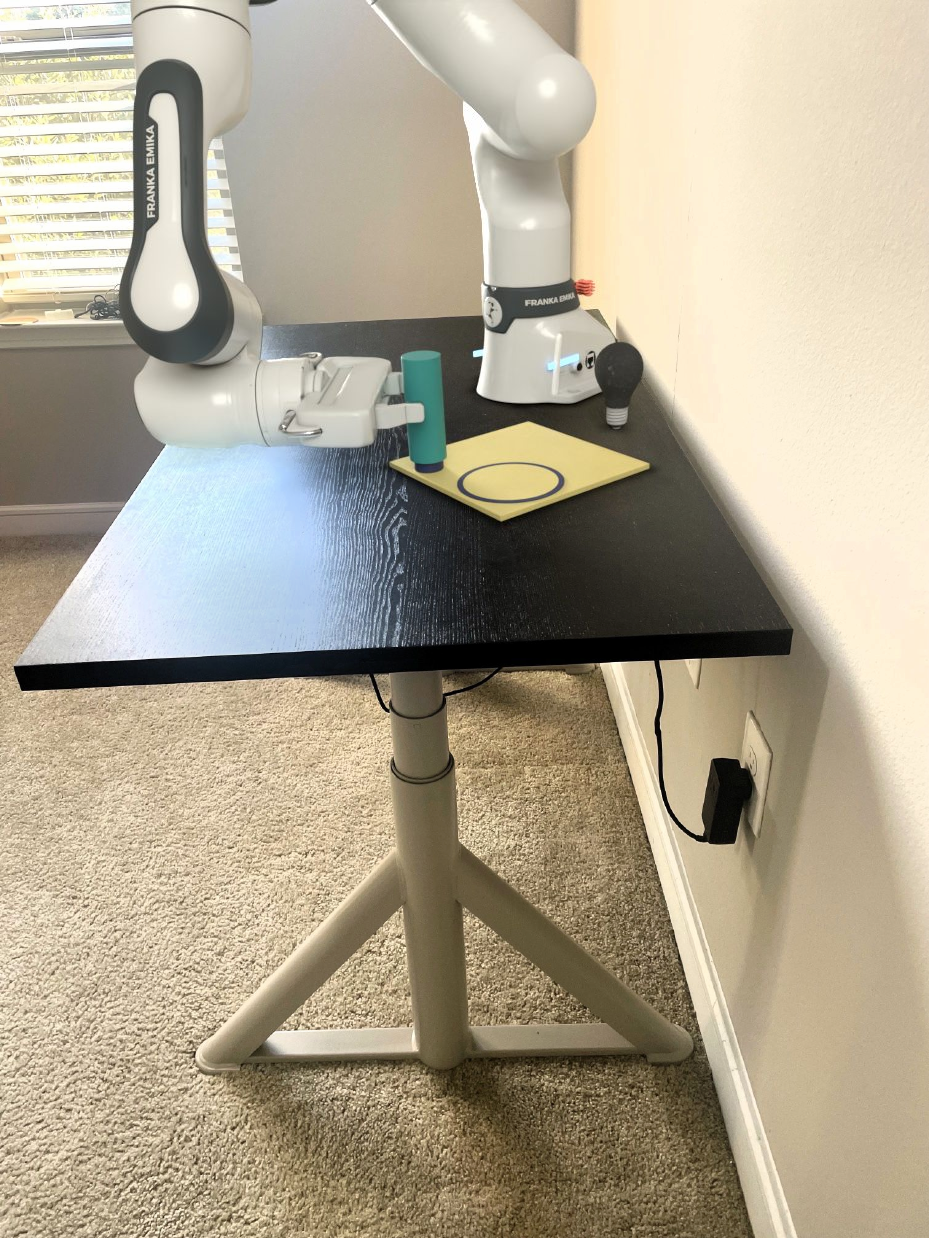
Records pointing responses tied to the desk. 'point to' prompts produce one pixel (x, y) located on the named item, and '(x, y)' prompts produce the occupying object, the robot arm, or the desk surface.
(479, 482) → the writing pad
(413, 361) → the cylinder
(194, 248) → the robot arm
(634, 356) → the light bulb
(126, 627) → the desk surface
